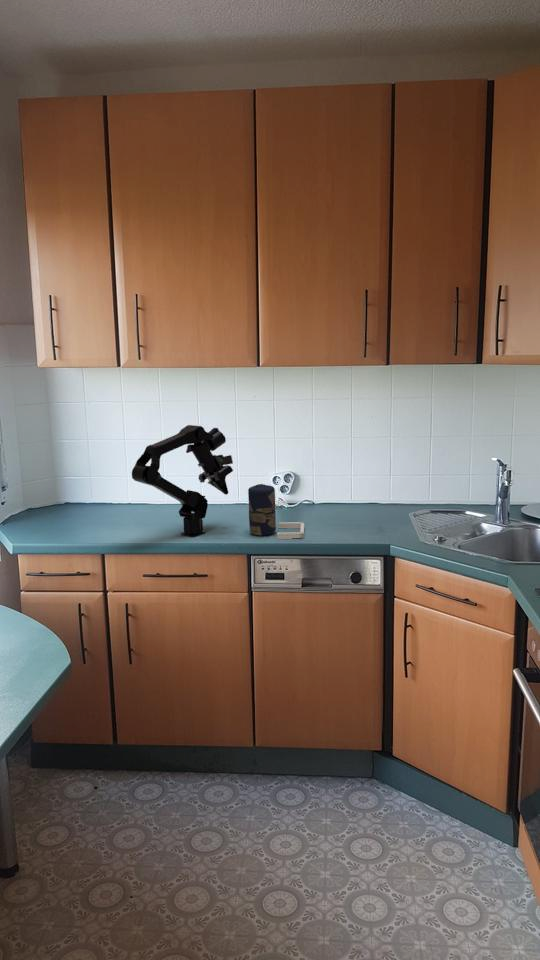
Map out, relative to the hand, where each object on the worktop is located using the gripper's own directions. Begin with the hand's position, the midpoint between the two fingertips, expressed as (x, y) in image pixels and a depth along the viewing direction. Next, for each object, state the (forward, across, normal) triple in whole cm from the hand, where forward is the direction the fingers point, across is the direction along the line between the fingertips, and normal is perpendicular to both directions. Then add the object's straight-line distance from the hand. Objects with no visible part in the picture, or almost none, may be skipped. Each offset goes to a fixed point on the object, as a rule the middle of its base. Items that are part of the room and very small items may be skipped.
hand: (227, 493), depth 269 cm
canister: (+18, -8, -1) cm, 19 cm away
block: (+22, -13, -8) cm, 27 cm away
